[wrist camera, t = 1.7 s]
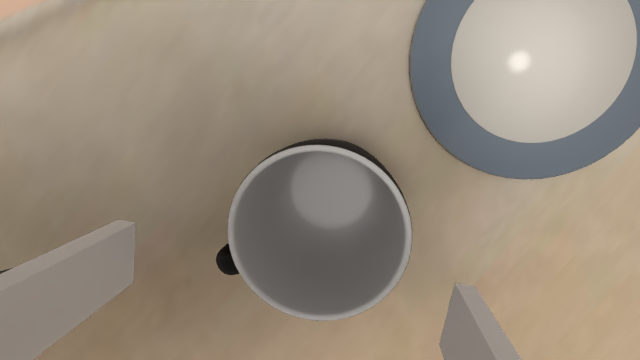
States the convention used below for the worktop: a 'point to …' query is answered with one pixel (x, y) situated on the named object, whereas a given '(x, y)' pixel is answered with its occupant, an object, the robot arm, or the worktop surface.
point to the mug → (318, 231)
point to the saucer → (528, 81)
